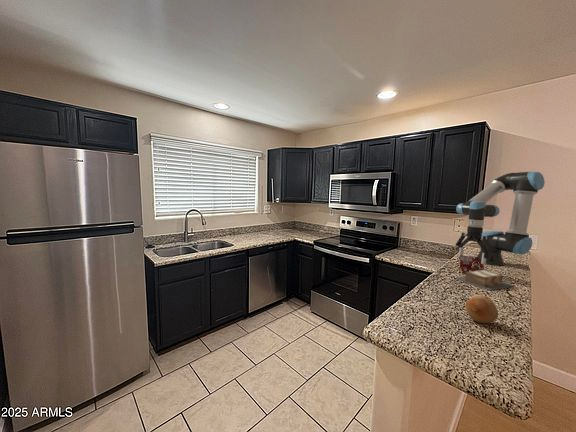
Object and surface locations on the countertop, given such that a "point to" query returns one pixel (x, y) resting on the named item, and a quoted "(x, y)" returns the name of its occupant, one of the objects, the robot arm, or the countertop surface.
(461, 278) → the build mat
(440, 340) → the countertop surface
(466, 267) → the toy fire truck
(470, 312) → the onion
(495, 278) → the plinth
